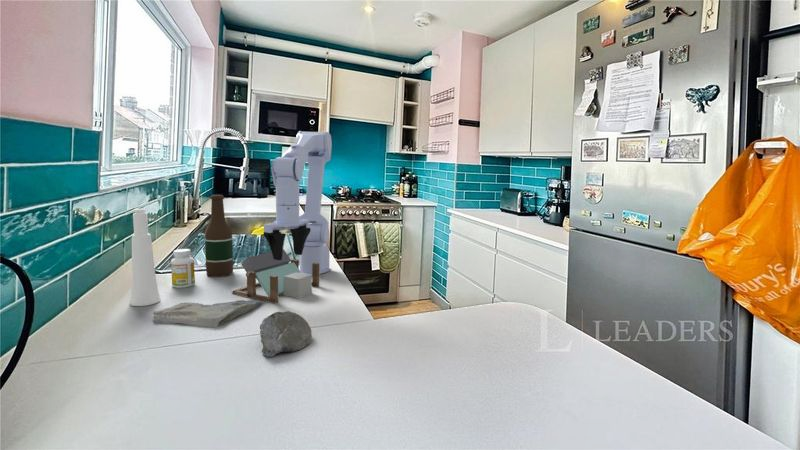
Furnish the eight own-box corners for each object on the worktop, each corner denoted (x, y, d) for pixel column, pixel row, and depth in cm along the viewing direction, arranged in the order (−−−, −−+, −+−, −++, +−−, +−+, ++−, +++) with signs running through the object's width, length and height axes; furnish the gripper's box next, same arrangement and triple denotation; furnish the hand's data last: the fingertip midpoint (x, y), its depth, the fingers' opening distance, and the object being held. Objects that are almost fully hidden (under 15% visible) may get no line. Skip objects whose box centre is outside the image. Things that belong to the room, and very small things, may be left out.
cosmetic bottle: (159, 296, 94) (154, 207, 91) (161, 303, 89) (156, 209, 86) (129, 300, 90) (123, 208, 88) (129, 308, 86) (123, 210, 83)
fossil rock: (147, 325, 78) (146, 314, 78) (192, 301, 93) (192, 292, 93) (229, 330, 77) (228, 318, 76) (262, 305, 91) (261, 296, 91)
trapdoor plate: (279, 255, 110) (284, 248, 109) (301, 287, 107) (307, 281, 106) (239, 264, 97) (245, 257, 96) (264, 302, 95) (270, 295, 94)
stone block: (296, 272, 102) (311, 274, 100) (296, 290, 102) (311, 293, 100) (283, 276, 97) (298, 279, 95) (283, 295, 98) (298, 298, 96)
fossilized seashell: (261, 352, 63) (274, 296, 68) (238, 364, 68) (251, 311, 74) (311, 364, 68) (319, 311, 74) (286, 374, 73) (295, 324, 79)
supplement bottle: (187, 281, 107) (185, 247, 106) (199, 284, 105) (197, 249, 103) (167, 286, 102) (165, 250, 101) (180, 289, 100) (178, 253, 99)
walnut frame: (281, 277, 113) (281, 256, 112) (321, 285, 107) (321, 262, 106) (229, 294, 97) (229, 269, 96) (272, 304, 91) (272, 277, 90)
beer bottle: (225, 269, 121) (222, 193, 118) (238, 273, 117) (236, 195, 114) (200, 274, 115) (197, 194, 112) (214, 278, 111) (211, 195, 107)
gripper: (294, 202, 106) (295, 250, 107) (254, 205, 93) (255, 260, 94) (315, 203, 103) (315, 253, 104) (276, 207, 90) (276, 263, 91)
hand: (288, 256), depth 99 cm, fingers open, 7 cm apart
